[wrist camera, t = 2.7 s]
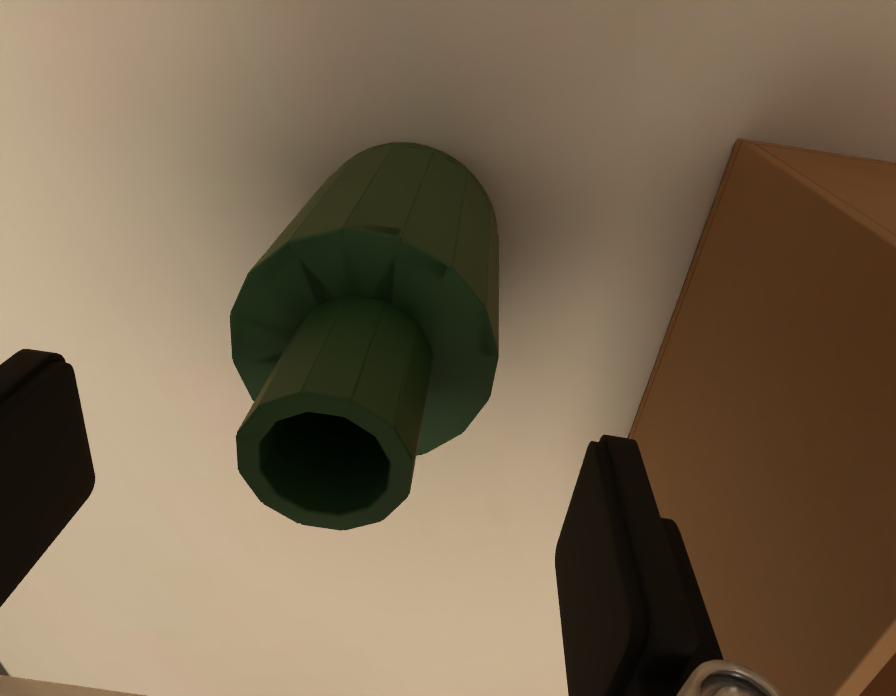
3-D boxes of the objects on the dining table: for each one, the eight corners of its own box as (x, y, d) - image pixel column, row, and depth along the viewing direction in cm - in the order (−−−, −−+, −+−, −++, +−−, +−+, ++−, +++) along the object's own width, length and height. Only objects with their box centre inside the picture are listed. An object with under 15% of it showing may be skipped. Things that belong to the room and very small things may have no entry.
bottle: (318, 128, 18) (130, 287, 9) (512, 158, 18) (527, 347, 9) (314, 301, 21) (169, 557, 12) (481, 327, 21) (467, 601, 12)
